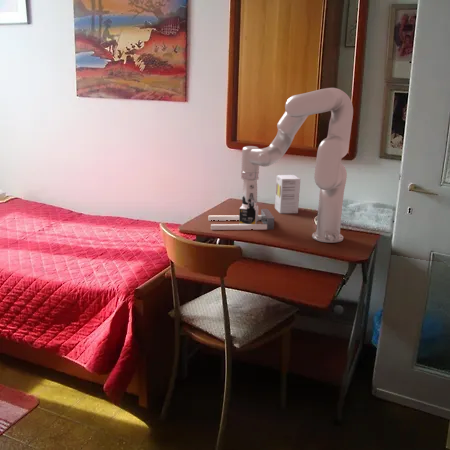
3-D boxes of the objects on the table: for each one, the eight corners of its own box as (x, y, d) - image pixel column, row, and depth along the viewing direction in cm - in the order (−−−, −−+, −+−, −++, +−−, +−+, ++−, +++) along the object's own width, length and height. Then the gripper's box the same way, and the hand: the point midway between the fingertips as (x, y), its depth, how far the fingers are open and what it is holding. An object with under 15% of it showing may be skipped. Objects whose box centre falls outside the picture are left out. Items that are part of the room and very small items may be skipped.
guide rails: (266, 229, 229) (267, 224, 229) (211, 229, 227) (211, 225, 226) (260, 219, 244) (261, 215, 243) (208, 219, 241) (208, 215, 240)
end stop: (273, 229, 230) (274, 218, 228) (266, 229, 229) (267, 218, 228) (267, 219, 244) (267, 208, 242) (260, 219, 244) (261, 208, 242)
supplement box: (274, 208, 263) (276, 174, 258) (292, 207, 264) (294, 174, 260) (279, 213, 254) (282, 178, 249) (298, 213, 255) (300, 178, 251)
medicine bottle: (239, 223, 233) (239, 197, 229) (242, 219, 239) (243, 193, 236) (255, 225, 231) (256, 198, 228) (258, 220, 238) (259, 194, 234)
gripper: (262, 179, 221) (260, 219, 226) (255, 171, 238) (253, 208, 243) (244, 179, 220) (243, 219, 225) (238, 171, 237) (237, 209, 242)
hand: (248, 214), depth 234 cm, fingers closed on medicine bottle, 9 cm apart
